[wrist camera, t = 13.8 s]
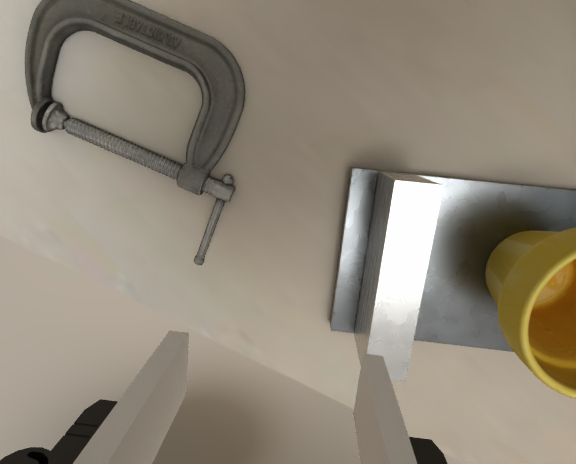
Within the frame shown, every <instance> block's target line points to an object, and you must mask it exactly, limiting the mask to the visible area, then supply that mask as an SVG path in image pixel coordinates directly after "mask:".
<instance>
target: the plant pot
mask: <svg viewBox="0 0 576 464" xmlns="http://www.w3.org/2000/svg"><path fill="white" fill-rule="evenodd" d="M485 277H486V283H487V286H488V289H489V291H490V293H491V295H492V297H493V299H494V301H495V303H496V305H497V307H498V319H499V324H500V328H501V331H502V333H503V336H504V337H505V339H506V341H507V343H508V344H509V346H510V347H511V348H512V350H513V351H514V352H515V353H516V355H517V356H518V357H519V358H520V359H521V361H522V362H523V363H524V364H525V365H526V366H527V367H528V368H529V369H530V370H531V371H532V372H533V373H534V375H535V376H536V377H537V378H538V379H540V380H541V381H542V382H543V383H544V384H546V385H547V386H548V387H550V388H551V389H553V390H555V391H557V392H559V393H561V394H563V395H566V396H568V397H571V398H575V399H576V228H572V229H568V230H564V231H561V232H553V231H534V230H533V231H523V232H519V233H516V234H513V235H511V236H509V237H507V238H506V239H504V240H503V241H502V242H501V243H499V244H498V245H497V247H496V248H495V249H494V250H493V252H492V253H491V255H490V257H489V259H488V262H487V265H486V272H485Z"/></svg>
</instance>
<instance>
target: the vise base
mask: <svg viewBox="0 0 576 464" xmlns="http://www.w3.org/2000/svg"><path fill="white" fill-rule="evenodd" d="M379 172H387V173H397V174H407V175H417V176H420V177H423V178H426V179H428V180H431V181H434V182H436V183H439V184H442V185H444V186H443V191H442V196H441V201H440V207H439V212H438V217H437V222H436V227H435V232H434V237H433V242H432V248H431V253H430V258H429V263H428V268H427V273H426V278H425V283H424V289H423V294H422V299H421V304H420V309H419V314H418V319H417V325H416V330H415V335H414V340H417V341H426V342H435V343H443V344H452V345H460V346H469V347H477V348H486V349H495V350H503V351H512V352H514V351H513V350H512V348H511V347H510V346H509V344H508V343H507V341H506V339H505V337H504V336H503V333H502V331H501V328H500V324H499V319H498V307H497V305H496V303H495V301H494V299H493V297H492V295H491V293H490V291H489V289H488V286H487V283H486V277H485V272H486V265H487V262H488V259H489V257H490V255H491V253H492V252H493V250H494V249H495V248H496V247H497V245H498V244H499V243H501V242H502V241H503V240H504V239H506V238H507V237H509V236H511V235H513V234H516V233H519V232H523V231H533V230H534V231H553V232H561V231H564V230H568V229H572V228H576V190H570V189H560V188H551V187H541V186H531V185H521V184H511V183H502V182H492V181H482V180H472V179H462V178H452V177H443V176H433V175H423V174H413V173H403V172H393V171H384V170H374V169H364V168H354V167H351V171H350V178H349V185H348V193H347V200H346V208H345V215H344V223H343V230H342V237H341V245H340V252H339V260H338V267H337V274H336V282H335V289H334V297H333V304H332V312H331V319H330V327H331V330H332V331H340V332H349V333H355V326H356V319H357V313H358V306H359V300H360V293H361V287H362V280H363V274H364V267H365V261H366V254H367V247H368V241H369V234H370V228H371V221H372V215H373V208H374V202H375V195H376V189H377V182H378V175H379Z"/></svg>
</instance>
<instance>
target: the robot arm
mask: <svg viewBox="0 0 576 464" xmlns="http://www.w3.org/2000/svg"><path fill="white" fill-rule="evenodd" d="M188 336H189V334H188V333H185V332H175V331H169V332H168V334H167V335H166V337H165V338H164V339H163V341H162V342H161V343H160V345H159V346H158V348H157V349H156V350H155V352H154V353H153V354H152V356H151V357H150V358H149V360H148V361H147V363H146V364H145V365H144V367H143V368H142V369H141V371H140V372H139V374H138V375H137V376H136V378H135V379H134V380H133V382H132V383H131V385H130V386H129V387H128V389H127V390H126V391H125V393H124V394H123V396H122V397H121V398H120V400H119V401H118V402H116V401H108V400H99V401H97V402H96V403H94V404H93V405H91V406H90V407H88V408H87V409H85V410H84V412H83V413H82V414H81V415H80V416H79V418H78V419H77V420H76V421H75V423H74V425H72V426H71V427H70V428H69V430H68V431H67V432H66V434H65V436H63V437H62V438H61V439H60V441H59V442H58V443H57V444H56V445H55V447H54V448H53V449H52V450H51V451H49V450H47V449H44V448H35V447H33V448H32V447H31V448H27V449H23V450H19V451H16V452H14V453H12V454H10V455H8V456H6V457H4V458H3V459H2V460H0V464H152V462H153V460H154V459H155V457H156V454H157V452H158V450H159V448H160V446H161V444H162V442H163V440H164V438H165V436H166V434H167V432H168V430H169V428H170V426H171V424H172V421H173V420H174V418H175V415H176V413H177V411H178V409H179V407H180V405H181V403H182V401H183V399H184V397H185V395H186V391H187V389H186V388H187V365H188V364H187V363H188V338H189V337H188ZM353 414H354V421H355V427H356V434H357V441H358V447H359V454H360V461H361V464H447V462H446V459H445V457H444V454H443V453H442V452H441V451H440V449H439V448H438V447H437V446H436V445H435V444H434V442H433V441H432V440H429V439H421V438H413V437H409V436H408V433H407V430H406V427H405V424H404V421H403V417H402V414H401V411H400V408H399V405H398V402H397V399H396V396H395V392H394V389H393V386H392V383H391V380H390V377H389V374H388V371H387V368H386V364H385V361H384V358H383V356H380V355H371V354H363V357H362V363H361V370H360V376H359V382H358V388H357V395H356V401H355V407H354V413H353Z"/></svg>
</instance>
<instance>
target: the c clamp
mask: <svg viewBox="0 0 576 464" xmlns="http://www.w3.org/2000/svg"><path fill="white" fill-rule="evenodd" d="M80 30H90V31H93V32H96V33H99V34H101V35H103V36H105V37H107V38H110V39H112V40H114V41H117V42H119V43H121V44H123V45H125V46H128V47H130V48H132V49H135V50H137V51H139V52H141V53H144V54H146V55H149V56H151V57H153V58H155V59H158V60H160V61H162V62H164V63H167V64H169V65H171V66H174V67H176V68H179V69H181V70H183V71H186V72H188V73H189V74H191V75H192V76H193V77H194V78H195V80H196V81H197V82H198V84H199V86H200V88H201V92H202V106H201V110H200V112H199V115H198V118H197V120H196V123H195V125H194V128H193V131H192V134H191V137H190V139H189V142H188V146H187V152H186V163H185V164H184V166H183V165H180V164H179V163H176V162H175V161H172V160H169V159H168V158H165V157H162V156H161V155H158V154H155V153H154V152H151V151H150V150H147V149H143V148H142V147H140V146H136V144H133V143H131V142H129V141H125V140H124V139H121V138H119V137H117V136H114V135H111V134H110V133H107V132H106V131H103V130H100V129H99V128H96V127H93V126H92V125H89V124H86V123H85V122H82V121H80V120H77V119H74V118H70V116H68V115H67V114H66V113H65V112H64V111H63V106H62V104H61V103H59V102H53V101H52V100H51V99H50V97H51V96H50V95H51V84H52V78H53V74H54V70H55V66H56V62H57V59H58V54H59V50H60V47H61V45H62V44H63V42H64V41H65V39H66V38H67V37H68V36H69V35H71V34H72V33H74V32H76V31H80ZM25 77H26V85H27V92H28V96H29V101H30V104H31V107H32V113H31V125H32V127H33V128H34V129H35V130H37V131H39V132H42V133H46V132H50V131H53V130H54V129H59V130H63V129H65V128H66V132H67V133H69V134H71V135H75V137H79V138H82V139H83V140H86V141H89V142H90V143H93V144H94V145H97V146H100V147H101V148H104V149H107V150H108V151H111V152H113V153H115V154H118V155H120V156H122V157H125V158H127V159H129V160H133V161H134V162H137V163H140V164H141V165H144V166H147V167H148V168H151V169H152V170H155V171H158V172H159V173H162V174H165V175H166V176H169V177H172V178H173V179H176V180H177V185H178V186H179V187H181V188H184V189H186V190H188V191H191V192H193V193H195V194H198V195H201V194H202V193H203V191H205V193H208V194H211V195H212V196H214V197H216V198H217V200H216V203H215V206H214V209H213V212H212V214H211V217H210V220H209V223H208V226H207V228H206V231H205V234H204V237H203V240H202V242H201V245H200V248H199V251H198V253H197V256H196V257H195V259H194V262H195V264H197V265H202V264H203V263H204V257H205V254H206V251H207V249H208V246H209V243H210V240H211V237H212V235H213V232H214V229H215V226H216V223H217V221H218V218H219V216H220V212H221V210H222V207H223V206H224V202H229V201H230V199H231V197H232V195H233V193H234V191H235V187H234V186H233V185H232V184H233V182H234V180H233V177H232V176H231V175H224V177H223V178H222V181H219V180H215V179H214V178H211V177H210V176H209V175H210V171H211V170H212V169H213V168H214V166H215V165H216V164H217V162H218V161H219V159H220V158H221V156H222V155H223V153H224V151H225V150H226V148H227V146H228V144H229V142H230V140H231V138H232V136H233V134H234V131H235V128H236V126H237V123H238V121H239V118H240V116H241V113H242V110H243V107H244V101H245V85H244V79H243V75H242V72H241V69H240V67H239V65H238V63H237V61H236V59H235V58H234V56H233V55H232V54H231V52H230V51H229V50H228V49H227V48H226V47H225V46H224V45H223V44H221V43H220V42H219V41H217V40H216V39H214V38H212V37H210V36H208V35H206V34H204V33H201V32H199V31H197V30H195V29H192V28H190V27H188V26H186V25H183V24H181V23H179V22H177V21H175V20H172V19H170V18H168V17H165V16H163V15H161V14H159V13H157V12H155V11H152V10H150V9H147V8H145V7H143V6H141V5H139V4H136V3H134V2H132V1H129V0H42V1H41V2H40V4H39V5H38V6H37V8H36V10H35V12H34V14H33V17H32V20H31V24H30V27H29V31H28V37H27V42H26V50H25Z"/></svg>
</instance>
